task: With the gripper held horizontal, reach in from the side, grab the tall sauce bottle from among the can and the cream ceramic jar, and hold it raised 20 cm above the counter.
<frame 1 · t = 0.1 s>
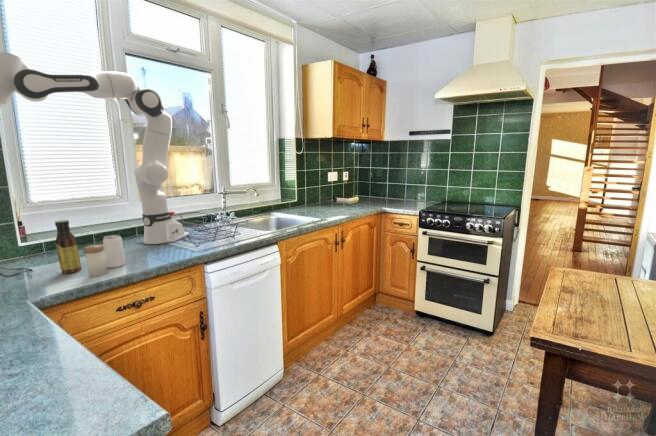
sauce bottle: (71, 271, 130), on the counter
can: (116, 265, 136), on the counter
spice jar: (98, 274, 127), on the counter
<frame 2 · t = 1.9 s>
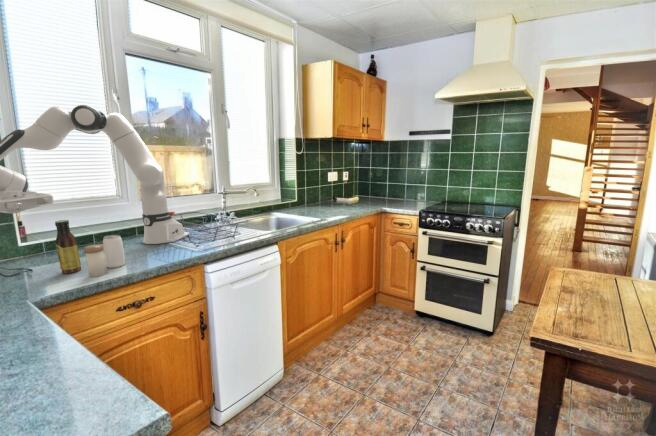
hand: (34, 203, 130), 26 cm above the counter, tool horizontal, fingers open, 8 cm apart
nothing on the counter moved.
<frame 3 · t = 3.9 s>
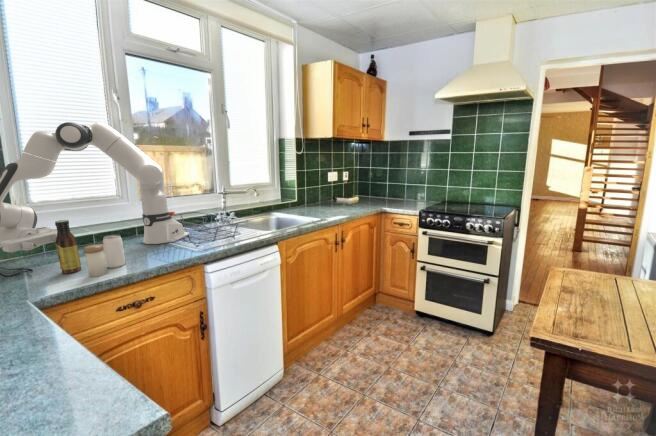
hand: (48, 241, 132), 11 cm above the counter, tool horizontal, fingers open, 8 cm apart
nothing on the counter moved.
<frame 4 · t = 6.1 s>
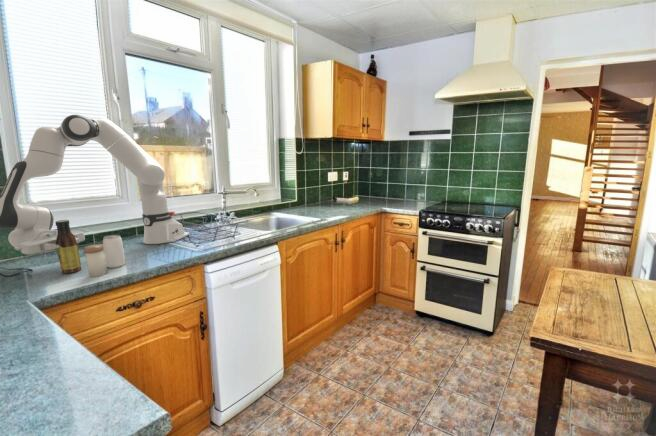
hand: (67, 243, 128), 11 cm above the counter, tool horizontal, fingers closed on sauce bottle, 6 cm apart
sauce bottle: (71, 271, 130), on the counter, touching gripper
everything else where it was.
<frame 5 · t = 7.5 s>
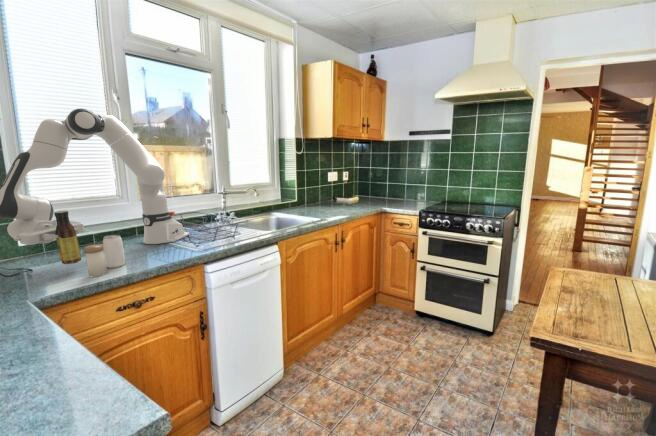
hand: (67, 234, 127), 15 cm above the counter, tool horizontal, fingers closed on sauce bottle, 6 cm apart
sauce bottle: (71, 262, 130), point 3 cm above the counter, touching gripper
everything else where it was.
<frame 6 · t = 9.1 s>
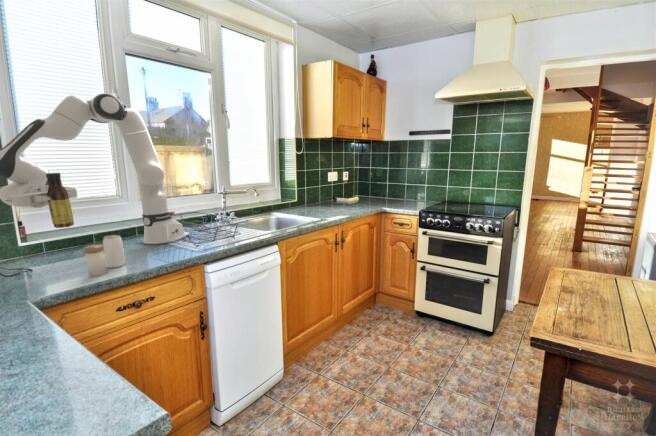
hand: (59, 196, 124), 29 cm above the counter, tool horizontal, fingers closed on sauce bottle, 6 cm apart
sauce bottle: (64, 227, 127), point 17 cm above the counter, touching gripper
everything else where it was.
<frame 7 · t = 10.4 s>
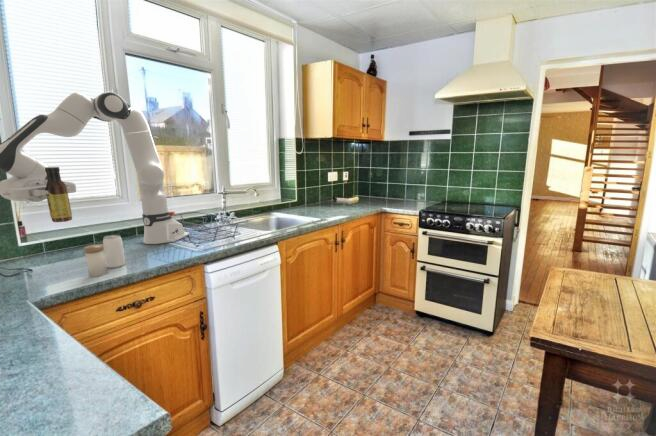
hand: (57, 191, 124), 31 cm above the counter, tool horizontal, fingers closed on sauce bottle, 6 cm apart
sauce bottle: (62, 221, 127), point 19 cm above the counter, touching gripper
everything else where it was.
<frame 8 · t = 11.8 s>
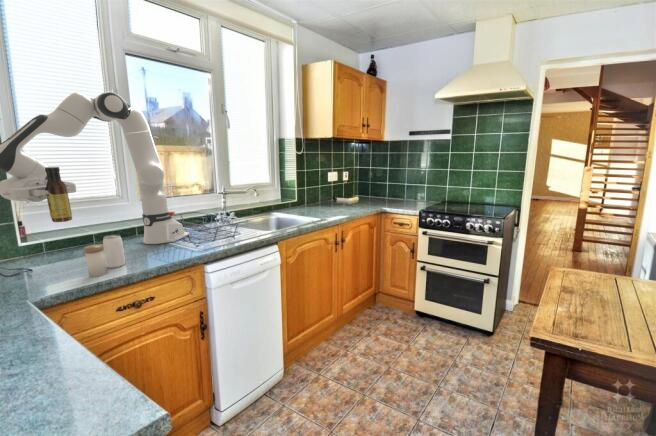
hand: (57, 191, 124), 31 cm above the counter, tool horizontal, fingers closed on sauce bottle, 6 cm apart
sauce bottle: (62, 221, 127), point 19 cm above the counter, touching gripper
everything else where it was.
at the end: the gripper is holding sauce bottle; sauce bottle point 19.4 cm above the counter; can moved 0.2 cm from its start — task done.
